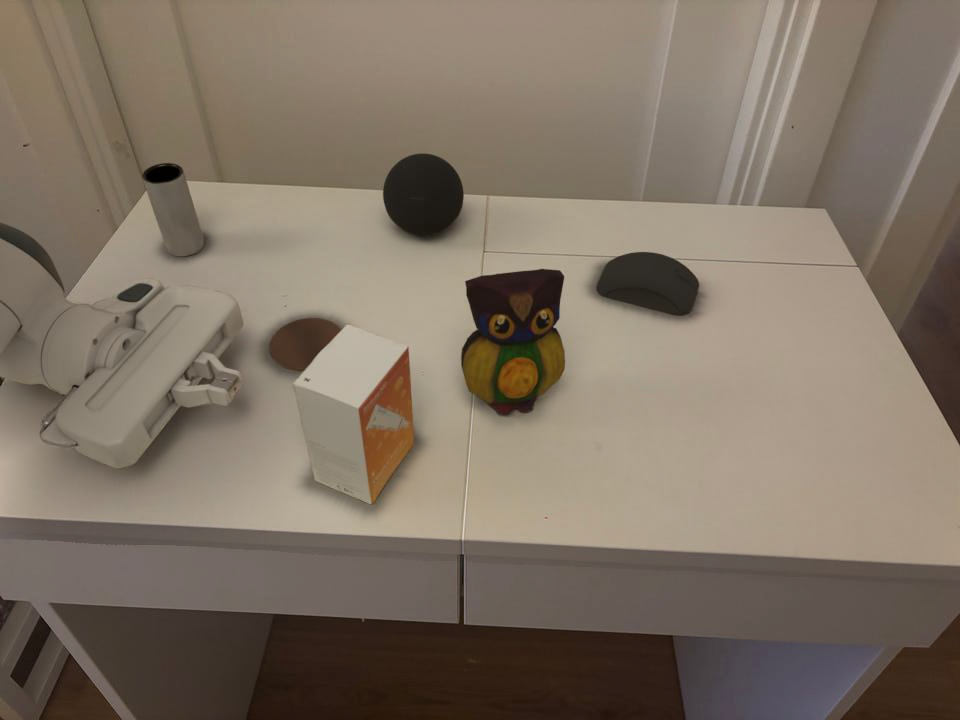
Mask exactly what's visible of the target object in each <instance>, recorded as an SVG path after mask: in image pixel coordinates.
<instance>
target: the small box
mask: <svg viewBox="0 0 960 720" xmlns="http://www.w3.org/2000/svg"><path fill="white" fill-rule="evenodd" d="M409 348H410V347H409V345H407V344H404V343H401V342H398V341H395V340H393V339H390V338H387V337H384V336H381V335H379V334H377V333H373V332H370V331H368V330H364V329H363V328H360V327H357V326H354V325H352V324H346V325H345V326H343V328H341V331H340V332H339V333H338V334H337V335H336V336H335V337H334V338H333V340H332V341H331V342H330V343H329V344H328V345H327V346H326V347H325V348H324V349H323V350H321V351H320V353H319V354H318V355H317V356H316V357H315V359H314V360H313V361H312V362H311V364H310V365H309V366H308V367H307V368H306V369H305V370H304V371H302V372H301V374H300V375H299V376H298V377H297V378H296V379H295V380H294V381H293V382H292V387H293V391H294V395H295V399H296V404H297V409H298V413H299V418H300V421H301V422H300V423H301V426H302V431H303V435H304V439H305V445H306V448H307V449H306V450H307V453H308V457H309V461H310V466H311V471H312V475H313V479H314V481H315V482H317V483H320V484H322V485H324V486H327V487H328V488H331V489H333V490H335V491H338V492H340V493H342V494H345V495H347V496H350V497H352V498H354V499H357V500H360V501H362V502H364V503H367V504H369V505H374V503H375V501H376V499H377V498H378V497H379V495H380V493H381V492H382V490H383V488H384V487H385V485H386V484H387V482H388V481H389V480H390V478H391V477H392V476H393V474H394V472H395V471H396V470H397V468H398V467H399V465H400V464H401V463H402V461H403V460H404V458H405V457H406V456H407V454H408V453H409V451H410V450H411V449H412V448H413V446H414V445H415V433H414V430H415V429H414V416H413V414H414V413H413V402H412V399H413V398H412V384H411V383H412V381H411V366H410V351H409Z"/></svg>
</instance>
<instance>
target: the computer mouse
mask: <svg viewBox="0 0 960 720" xmlns="http://www.w3.org/2000/svg"><path fill="white" fill-rule="evenodd" d="M699 289H700V281H699V279H698V278H697V277H696V275H695V274H694V272H693V271H692V270H691V269H689V267H688V266H687V265H685V264H684V263H682V262H680V261H679V260H677V259H675V258H673V257H671V256H668V255H666V254H662V253H657V252H652V251H651V252H650V251H634V252H629V253H624V254H621V255H619V256H617V257H614V258H612V259H610V260H609V261H608V262H607V263H605V266H604V268H603V270H602V272H601V275H600V277H599V279H598V281H597V283H596V292H597V293H598V295H600V296H601V297H604V298H606V299H610V300H615V301H618V302H621V303H626V304H631V305H634V306H638V307H642V308H646V309H649V310H652V311H657V312H660V313H665V314H668V315H672V316H677V317H678V316H679V317H680V316H685V315H688V314H689V313H690V312H691V311H692V310H693V307H694V305H695V301H696V298H697V296H698V291H699Z"/></svg>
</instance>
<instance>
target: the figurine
mask: <svg viewBox="0 0 960 720" xmlns="http://www.w3.org/2000/svg"><path fill="white" fill-rule="evenodd" d="M564 281H565V275H564V274H563V273H562V271H561V270H560V269H548V268H547V269H546V268H539V269H531V270H520V271H519V270H518V271H512V272H502V273H494V274H486V275H485V274H483V275H479V276H476V277H473V278H470V279H467V280H465V281H464V284H465V287H466V288H465V292H466V293H465V294H466V295H465V296H466V299H467V301H468V305H469V309H470V313H471V315H472V319H473V322H474V326H475V328H476V330H474V331H472V333H470V335H469V336H468V337H467V338H466V340H465V342H464V344H463V346H462V349H461V356H460V365H461V370H462V373H463V377H464V378H463V379H464V382H465V385H466V387H467V390H468V392H469V393H471V394H473V395H475V396H477V397H478V398H480V399H481V400H482V401H484V402H485V403H487V404H489V406H491V407H492V408H493V409H494V410H495V412H497V414H499V415H505V416H509V415H510V414H511V413H512V412H513V411H514V408H515V409H517V411H520V412H523V413H527V412H529V411H532V410H533V409H534V405H535V403H536V400H537V399H538V398H539V397H540V396H543V395H544V394H545V393H546V392H547V391H548V390H550V389H551V387H553V386H554V385H555V384H556V383H558V382H559V380H560V379H561V378H562V376H563V373H564V372H565V368H566V367H565V366H566V354H565V353H566V352H565V349H564V348H565V347H564V344H563V340H562V338H561V334H560V333H559V331H558V329H557V328H556V327H555V326H556V324H557V323H558V321H559V320H560V319H561V318H560V316H561V315H560V314H561V313H560V311H561V299H562V293H563V287H564Z"/></svg>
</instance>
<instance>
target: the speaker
mask: <svg viewBox="0 0 960 720" xmlns="http://www.w3.org/2000/svg"><path fill="white" fill-rule="evenodd" d="M385 177H386V178H385V180H384V182H383V183H384V184H383V188H382V189H383V190H382V200H383V205H384V208H385V211H386V213H387V215H388V216H389V218H390V220H391V221H392V222H393V223H394V224H395V225H396V226H397V227H398V228H399V229H401V230H402V231H404V232H406V233H409V234H411V235H414V236H420V237H429V236H434V235H437V234H439V233H442V232H444V231H446V230H447V229H448V228H450V227H451V226H452V225H453V224H454V223H455V221H456V220H457V218H458V216H460V214H461V211H462V208H463V205H464V199H465V197H464V195H465V194H464V187H463V183H462V179H461V177H460V175H459V174H458V172H457V170H456V169H455V167H453V165H451V164H450V163H449V162H448V161H447V160H445V159H444V158H442V157H440V156H438V155H435V154H431V153H423V152H422V153H414V154H411V155H408V156H406V157H404V158H401V159H400V160H398V161H397V163H395V164H394V165H393V166H392V168H391V169H390V170H389V172H388V173H387V175H386V176H385Z"/></svg>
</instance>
